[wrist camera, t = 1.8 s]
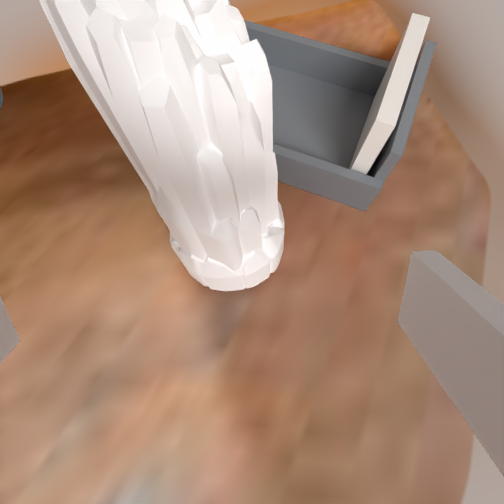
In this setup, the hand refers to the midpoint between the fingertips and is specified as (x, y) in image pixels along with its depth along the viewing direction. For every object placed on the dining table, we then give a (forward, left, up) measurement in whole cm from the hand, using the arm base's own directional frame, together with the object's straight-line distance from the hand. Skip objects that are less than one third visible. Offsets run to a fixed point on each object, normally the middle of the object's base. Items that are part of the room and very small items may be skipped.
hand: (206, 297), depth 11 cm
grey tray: (-4, +26, -22) cm, 34 cm away
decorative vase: (-4, +9, -21) cm, 24 cm away
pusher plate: (+5, +26, -21) cm, 34 cm away
